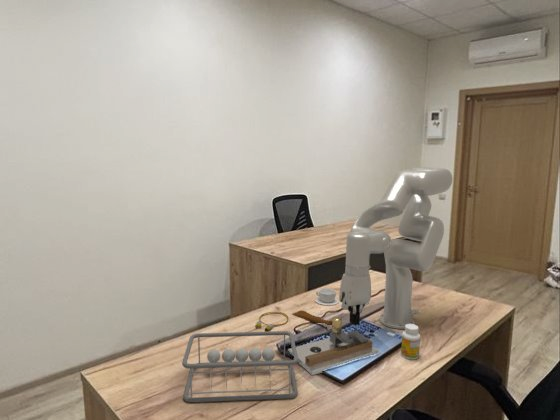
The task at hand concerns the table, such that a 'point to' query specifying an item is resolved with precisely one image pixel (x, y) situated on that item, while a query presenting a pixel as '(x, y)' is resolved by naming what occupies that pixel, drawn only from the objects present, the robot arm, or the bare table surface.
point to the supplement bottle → (410, 342)
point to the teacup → (326, 296)
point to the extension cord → (269, 327)
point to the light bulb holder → (338, 333)
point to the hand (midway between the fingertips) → (354, 323)
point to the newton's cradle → (241, 356)
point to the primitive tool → (311, 317)
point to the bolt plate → (331, 362)
